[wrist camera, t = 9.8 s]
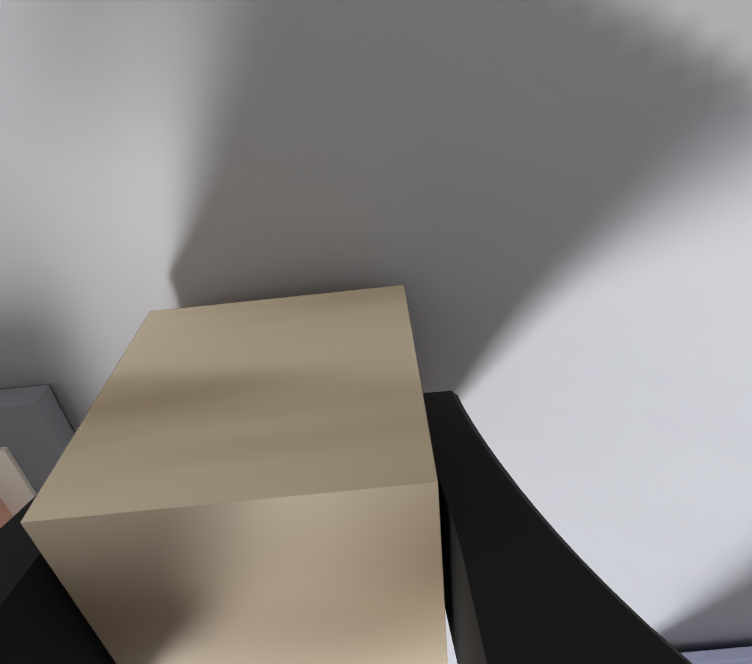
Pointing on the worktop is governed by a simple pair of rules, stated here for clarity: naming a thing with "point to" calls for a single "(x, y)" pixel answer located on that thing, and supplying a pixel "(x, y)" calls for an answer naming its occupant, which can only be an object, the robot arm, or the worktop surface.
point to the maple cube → (256, 490)
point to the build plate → (29, 442)
